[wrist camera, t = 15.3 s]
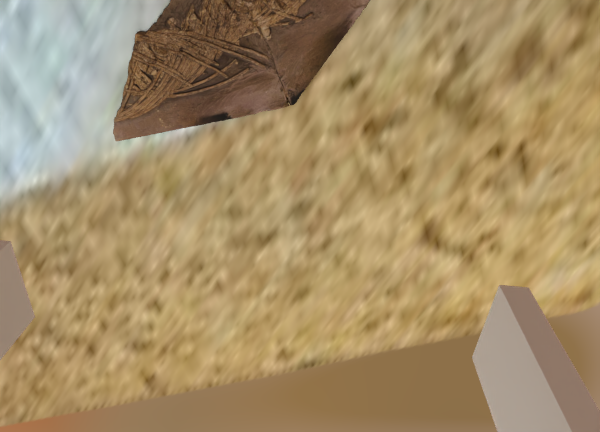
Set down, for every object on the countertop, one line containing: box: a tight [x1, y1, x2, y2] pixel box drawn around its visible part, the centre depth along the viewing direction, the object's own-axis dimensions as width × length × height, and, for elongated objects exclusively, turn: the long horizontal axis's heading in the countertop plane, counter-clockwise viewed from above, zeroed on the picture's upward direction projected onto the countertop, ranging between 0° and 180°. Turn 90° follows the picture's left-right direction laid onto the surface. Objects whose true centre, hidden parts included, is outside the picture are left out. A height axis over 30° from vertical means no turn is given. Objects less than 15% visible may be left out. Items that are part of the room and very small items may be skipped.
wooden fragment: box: [113, 0, 370, 141], centre depth 35 cm, size 26×11×1 cm, turn 117°
